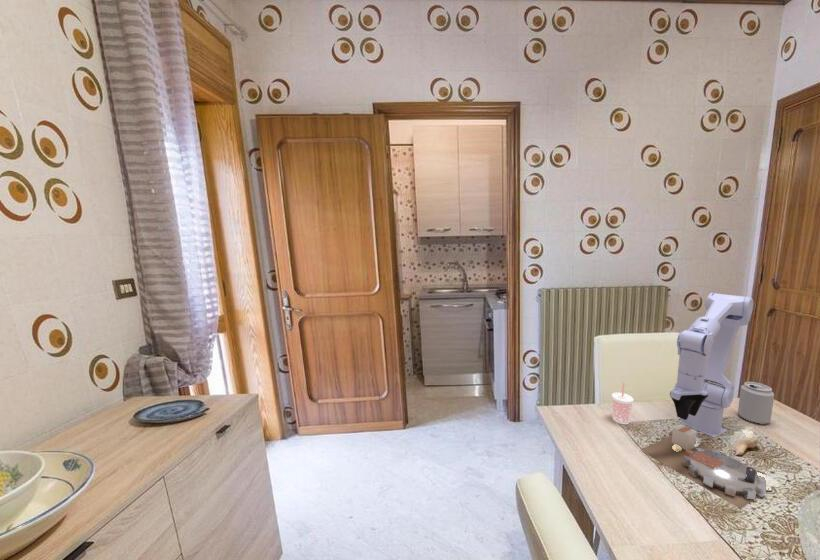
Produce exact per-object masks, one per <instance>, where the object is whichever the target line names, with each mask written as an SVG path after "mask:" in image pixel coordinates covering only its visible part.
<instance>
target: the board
mask: <svg viewBox="0 0 820 560" xmlns="http://www.w3.org/2000/svg"><path fill="white" fill-rule="evenodd" d="M700 443H701V445H700V446H699V447H696V448H702V449H703V450H705V451H710V452H711V450H715V451H717V450H716V449H714V448H712V447H711V446H708V445H706V444H704V443H702V442H700ZM673 445H674V444H673V443H672V435H669V436H667V437H665V438H662V439H661V440H659V441H657V442H655V443H654V442H653V443H652V444H649V445H648V446H645V447H644V448H641V449H640V451H641V452H643V453H644V454H646V455H648V456H650V457H651V458H653V459H654V460H656V461H658V462H660V463H661V464H663V465H665V466H666V467H668V468H670V469H671V470H673V471H675V472H677V473H678V474H679V475H682V476H683V477H685V478H687V479H689V480H691V481H692V482H694V483H695V484H697V485H699V486H701V487H702V488H704V489H705V490H707V491H709V492H711V493H712V494H715V495H716V496H718V497H719V498H721V499H722V500H725V501H726V502H728V503H730V504H731V505H733V506H735V507H737V508H738V509H740V510H741V509H743V508H744V507H746V506H747V505H749V504H750V503H751V502H753V501H755V500H756V499H757V498H759V496H758V495H756V496H755V499H746V498H745V497H744V496H743V495H739V494H735V497H734V496H731V495H727V494H725V493H724V490H721V489H719V488H716V487H714V488H711V487H709V486H707V485H705V484H703V480H702V479H701V478H699V477H693V476H692V475H691V474H690V473H689V472H688V470H689V467H686V466H684V463H683V459H684V455H685V451H686V450H684V449H683V448H682V450H681V451H679V452H676V451H674V450H673V449H672V446H673ZM690 450H691V451H693V452H695V447H694V448H692V449H690ZM719 452H720V451H719ZM720 453H721V454H722V455H725V456H728V457H730V456H729V455H727V454H725V453H722V452H720ZM740 463H742V464H744V465H746V466H748V464H745V463H743V462H741V461H740ZM756 470H757V469H756ZM757 471H758V472H760V473H762V474H765V473H763V472H762V471H759V470H757ZM765 475H767V474H765ZM767 491H768V490H766V492H767Z"/></svg>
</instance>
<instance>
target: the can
mask: <svg viewBox="0 0 820 560" xmlns="http://www.w3.org/2000/svg"><path fill="white" fill-rule="evenodd" d="M738 399H739V401H738V407H737V414H738V415H739V416H740V417H741V418H742V417H743V418H744V419H743V418H742V419H743V420H745V419H746V421H747V420H749V421H748V422H750V421H751V422H750V423H753V422H755V423H754V424H756V423H762V424H761V425H765V423H766V424H770V423H771V419H772V412H773V408H774V407H773V406H774V401H775V393H774V392H773V388H772V387H770V386H768V385H765V384H764V383H761V382H760V383H759V382H755V381H745V382H744V384H742V385H741V386H740V392H739V398H738Z"/></svg>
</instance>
